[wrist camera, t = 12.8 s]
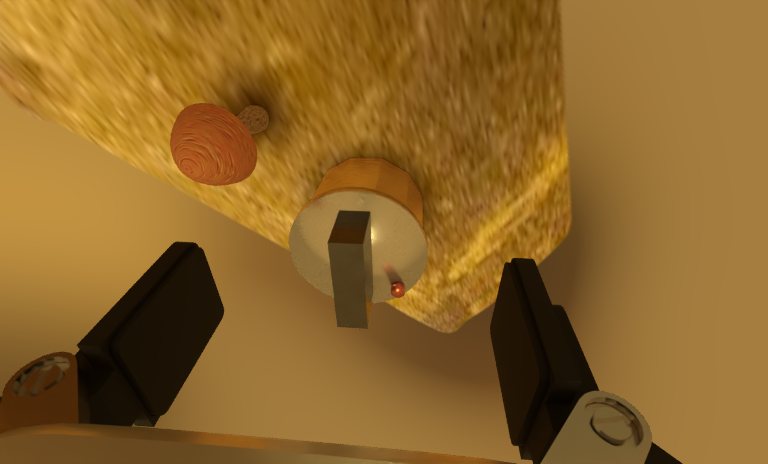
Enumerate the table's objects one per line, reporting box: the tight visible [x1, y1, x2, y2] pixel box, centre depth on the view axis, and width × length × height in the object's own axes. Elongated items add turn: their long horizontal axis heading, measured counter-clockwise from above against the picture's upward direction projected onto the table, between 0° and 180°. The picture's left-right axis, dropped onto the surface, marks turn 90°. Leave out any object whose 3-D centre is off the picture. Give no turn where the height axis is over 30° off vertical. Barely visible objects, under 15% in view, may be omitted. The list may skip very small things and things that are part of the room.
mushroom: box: [170, 103, 270, 186], centre depth 37 cm, size 8×8×15 cm
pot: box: [312, 157, 423, 227], centre depth 45 cm, size 14×14×9 cm
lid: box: [289, 187, 427, 329], centre depth 39 cm, size 15×15×8 cm
